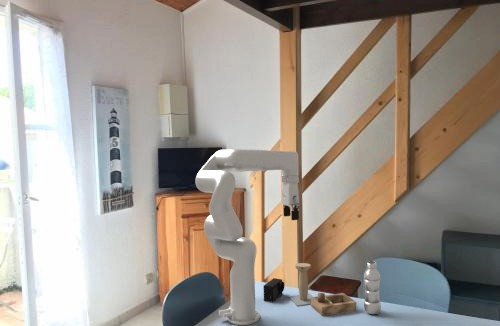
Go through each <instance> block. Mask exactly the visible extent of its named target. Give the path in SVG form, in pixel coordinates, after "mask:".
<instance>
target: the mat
mask: <svg viewBox="0 0 500 326" xmlns="http://www.w3.org/2000/svg"><path fill="white" fill-rule="evenodd" d="M311 297H314V295H312V294H311V293H308V296H307V300H304V301H303V300H300V295H299V294H298V295H292V296H291V295H290V296H288V298H289V300H290V301H292V303H294V305H296V306H297V307H301V306H309V305H310V306H311Z"/></svg>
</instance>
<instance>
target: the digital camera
mask: <svg viewBox="0 0 500 326" xmlns="http://www.w3.org/2000/svg"><path fill="white" fill-rule="evenodd" d="M284 290H285V282H284V281H283V279H282V278H274V277H273V278H272V279H271V280H269V281H268V282H266V283H265V284H263V302H265V303H266V302H269V303H274V302H275V301H277V300H276V299H279V298H280V297H281V296H282V295H283V292H284Z"/></svg>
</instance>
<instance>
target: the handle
mask: <svg viewBox="0 0 500 326" xmlns="http://www.w3.org/2000/svg"><path fill="white" fill-rule="evenodd" d="M311 267H312V265H311V264H310V263H305V262H300V263H299V262H298V263H295V269H296V270H298V295H300V300H303V301H304V300H307V296H308V294H309V283H308V282H309V281H308V270H310V269H311Z"/></svg>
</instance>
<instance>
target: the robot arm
mask: <svg viewBox="0 0 500 326" xmlns="http://www.w3.org/2000/svg"><path fill="white" fill-rule="evenodd" d="M299 168H300V167H299V153H298V152H297V151H294V150H293V151H291V150H287V151H283V150H282V151H279V150H267V149H240V148H239V149H237V148H236V149H235V148H234V149H233V148H232V149H219V150H217V151H216V152H215V153H214V154H213V155H211V156H210V158H209V159H208V160H207V162H205V163H204V165H203V166H202V167H201V169H200V170H199V171H198V173H197V174H196V177H195V180H194V181H195V183H194V184H195V186H196V188H197V189H198V190H199V191H200V192H202V193H206V194H212V195H211V198H210V201H209V205H208V211H209V215H207V217H206V218H205V220H204V222H203V231H204V235H205V237H206V239H207V240H208V242H209V243H210V246H211V247H212V249H213V251H214V252H215V254H216V255H217V256H218V257H219V258H222V259H224V260H228V261H232V262H233V265H232V267H231V269H230V272H229V283H230V284H229V287H230V289H229V290H230V305H228V308H226V309H219V310H218V316H220V317H221V316H223V318H226V320H227V321H228V322H229V324H230V323H231V324H232V325H236V326H238V325H239V326H247V325H248V326H249V325H252V324H255V323H257V322H259V320H260V317H261V316H260V313H259V312H258V311H256V281H255V280H256V279H255V271H256V270H255V267H256V257H257V252H258V251H257V250H258V248H257V245H256V243H255V242H254V241H253V240H252V239H250V238H247V237H244V236H243V232H244V229H243V226H242V224H241V221H240V219H239V217H238V216H237V215H238V214H236V212H235V210H234V207H233V204H232V198H233V194H234V191H235V187H236V177H235V175H234V174H233V173H232V172H235V173H236V172H237V173H239V172H240V173H241V172H265V171H280V170H281V171H280V173H281V196H280V197H281V200H280V201H281V204H282V207H283V210H282V211H283V217H290V218H291V219H290V220H291V221H298V220H299V219H300V217H299V216H300V215H299V213H300V211H299V210H300V195H299V184H298V183H300V178H299V175H300V174H299V173H300V172H299Z"/></svg>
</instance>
